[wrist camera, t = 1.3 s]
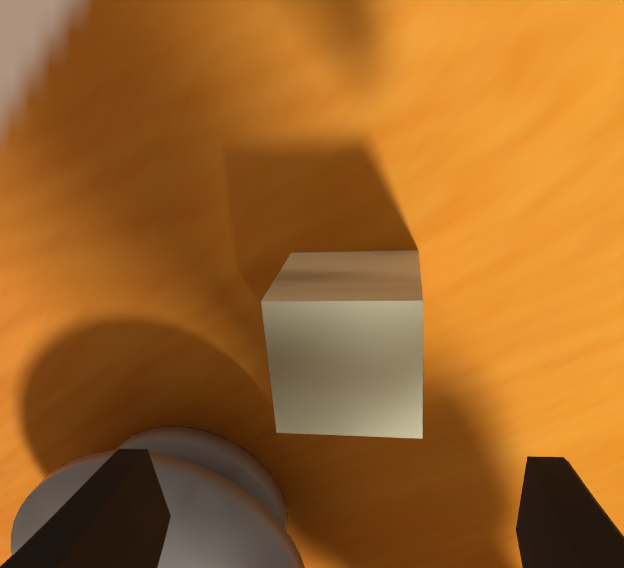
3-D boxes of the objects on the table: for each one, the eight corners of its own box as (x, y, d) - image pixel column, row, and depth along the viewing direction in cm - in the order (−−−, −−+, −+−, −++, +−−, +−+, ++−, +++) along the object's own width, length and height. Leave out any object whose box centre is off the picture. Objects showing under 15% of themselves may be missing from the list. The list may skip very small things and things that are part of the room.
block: (418, 362, 20) (422, 438, 16) (301, 361, 21) (276, 432, 17) (418, 249, 18) (422, 300, 14) (291, 251, 19) (260, 301, 15)
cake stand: (329, 611, 25) (316, 707, 22) (102, 588, 28) (53, 672, 24) (311, 400, 21) (290, 474, 17) (43, 393, 23) (-28, 457, 19)
